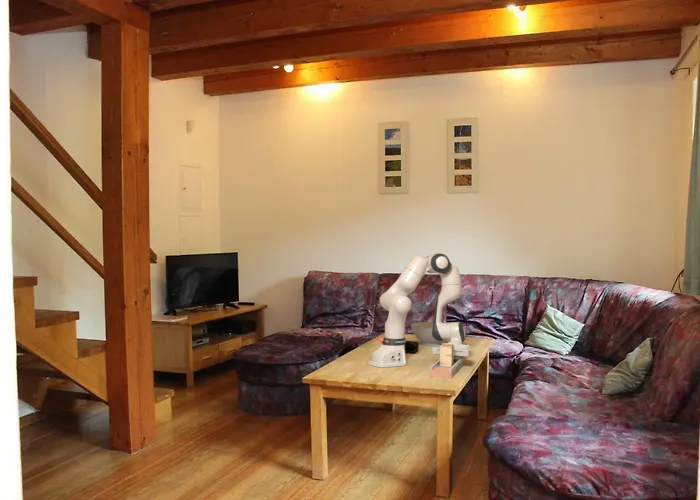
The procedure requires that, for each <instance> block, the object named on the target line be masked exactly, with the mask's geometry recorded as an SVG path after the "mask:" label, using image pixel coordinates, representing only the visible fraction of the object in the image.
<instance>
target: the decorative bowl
mask: <svg viewBox="0 0 700 500" xmlns="http://www.w3.org/2000/svg"><path fill="white" fill-rule="evenodd" d="M433 322H434V321H426V322H425V321H423V322H421V321H420V322H414V323H411V326H410V327H411V330H412V332H413V334H414V336H415V338H416V339H417V340H419V341H420V342H421V343H422V344H423V345H425V346H440V344H442V343H443V342H444V341H446V340H442V341H437V340H436V339H434V338H433V336H432V328H433Z"/></svg>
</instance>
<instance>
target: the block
mask: <svg viewBox="0 0 700 500" xmlns="http://www.w3.org/2000/svg"><path fill="white" fill-rule="evenodd" d="M439 346H440V354H439V359H440V366H446V367H452V366H453V365H454V359H455V357H454V344H448V342H447V343H445V342H444V343H443V342H442V343H441V345H439Z"/></svg>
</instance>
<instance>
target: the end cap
mask: <svg viewBox="0 0 700 500" xmlns="http://www.w3.org/2000/svg"><path fill="white" fill-rule="evenodd" d="M419 348H420V345H419V341H414V340H413V341H412V340H405V354H409V355H410V354H411V355H412V354H413V355H415V354H417V353H418V351H419Z"/></svg>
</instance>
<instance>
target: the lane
mask: <svg viewBox="0 0 700 500" xmlns="http://www.w3.org/2000/svg"><path fill="white" fill-rule="evenodd" d="M463 366H464V356H462V357H461V356H460V358H454V365H453V366H452V367H446V366H440V358H439V359H438V360H436V361H435V362H434V363H433V364H432V365H431V366H429V377H431V378H432V377H435V378H442V379H445V378H447V379H452V378H453V377H454V376H455V375H456V374H457V373H458V372H459V370H461V368H462V367H463Z"/></svg>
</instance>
